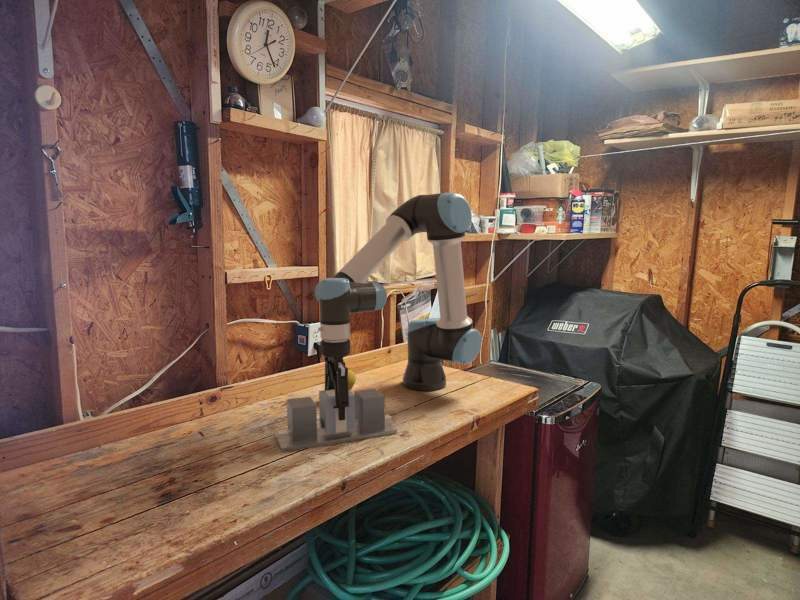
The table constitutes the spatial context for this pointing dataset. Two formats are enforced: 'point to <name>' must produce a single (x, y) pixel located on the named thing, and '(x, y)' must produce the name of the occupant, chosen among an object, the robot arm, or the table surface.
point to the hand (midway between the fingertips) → (336, 425)
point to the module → (328, 411)
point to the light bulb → (351, 379)
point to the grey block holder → (310, 434)
